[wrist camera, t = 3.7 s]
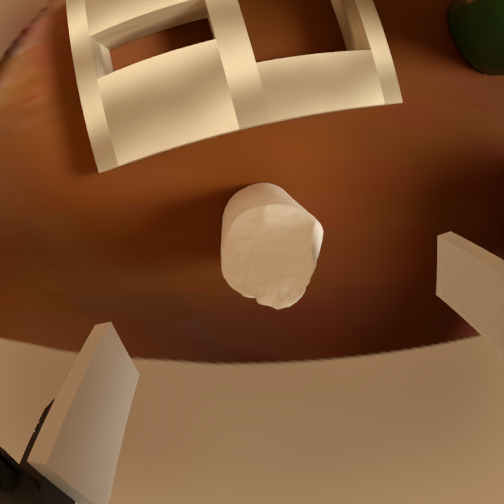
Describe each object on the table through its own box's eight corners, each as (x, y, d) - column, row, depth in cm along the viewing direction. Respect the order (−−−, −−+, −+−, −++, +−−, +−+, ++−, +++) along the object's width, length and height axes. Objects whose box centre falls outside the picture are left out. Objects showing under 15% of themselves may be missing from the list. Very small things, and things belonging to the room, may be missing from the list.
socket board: (377, 106, 22) (402, 102, 18) (118, 167, 22) (98, 173, 18) (325, -52, 16) (338, -74, 12) (84, 1, 16) (64, -16, 13)
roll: (305, 193, 12) (375, 290, 13) (267, 167, 23) (310, 222, 25) (188, 287, 13) (271, 365, 14) (206, 217, 24) (252, 268, 26)
